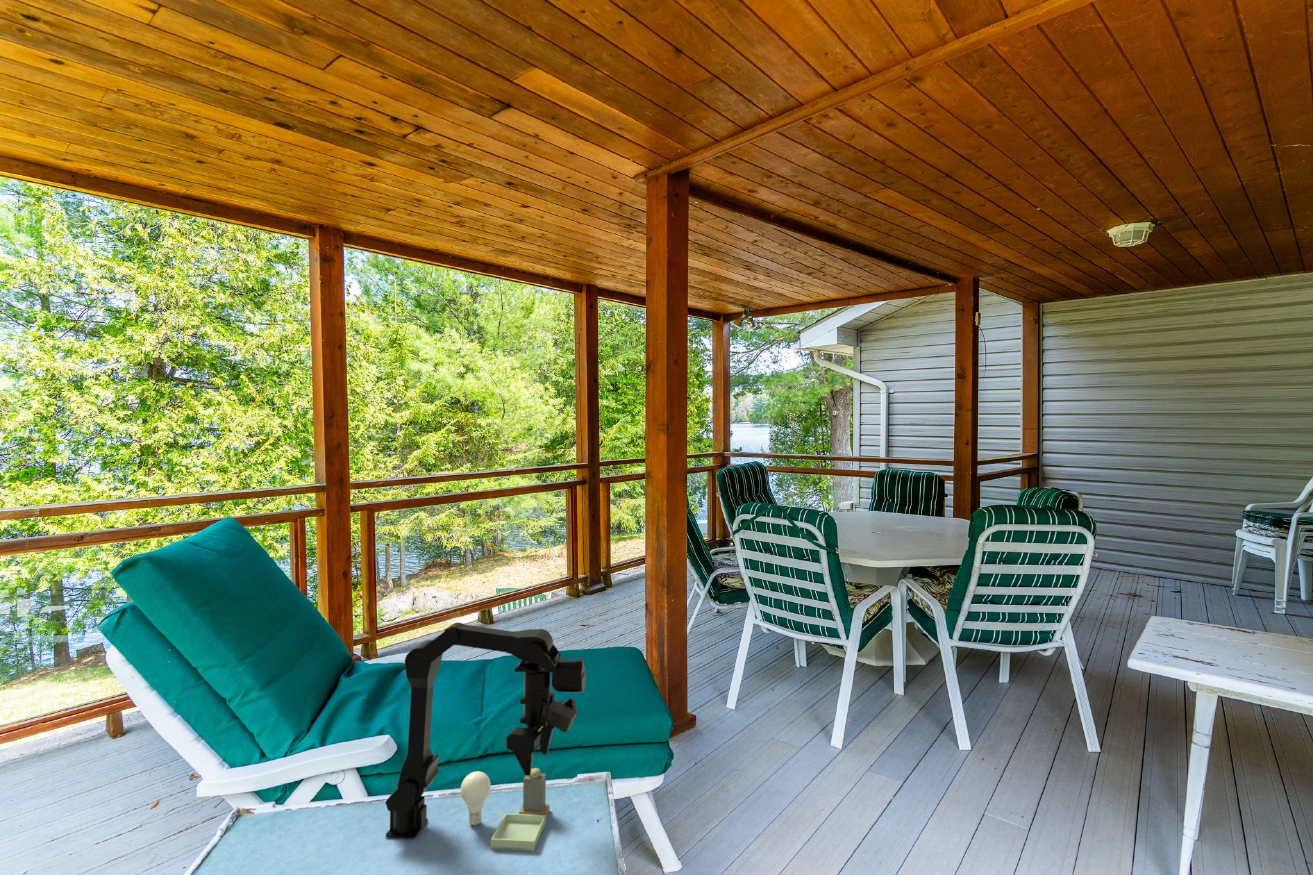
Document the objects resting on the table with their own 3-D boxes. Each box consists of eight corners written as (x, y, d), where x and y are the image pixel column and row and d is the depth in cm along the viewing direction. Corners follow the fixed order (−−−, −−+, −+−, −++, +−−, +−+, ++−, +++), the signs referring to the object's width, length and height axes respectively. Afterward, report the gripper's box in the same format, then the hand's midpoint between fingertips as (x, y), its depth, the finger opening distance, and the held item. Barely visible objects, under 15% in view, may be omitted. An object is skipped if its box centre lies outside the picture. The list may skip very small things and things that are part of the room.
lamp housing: (518, 818, 134) (519, 774, 134) (523, 809, 137) (524, 766, 138) (545, 819, 133) (545, 775, 134) (549, 810, 137) (549, 767, 137)
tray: (490, 849, 123) (490, 839, 123) (505, 822, 132) (505, 813, 132) (534, 851, 123) (534, 841, 123) (545, 824, 132) (545, 815, 132)
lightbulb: (481, 834, 128) (482, 782, 128) (454, 830, 129) (455, 779, 130) (495, 817, 134) (495, 767, 135) (469, 813, 136) (469, 764, 136)
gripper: (556, 711, 119) (556, 791, 119) (586, 678, 138) (585, 747, 137) (504, 707, 122) (503, 785, 121) (540, 674, 140) (539, 743, 139)
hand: (536, 764), depth 129 cm, fingers open, 9 cm apart
